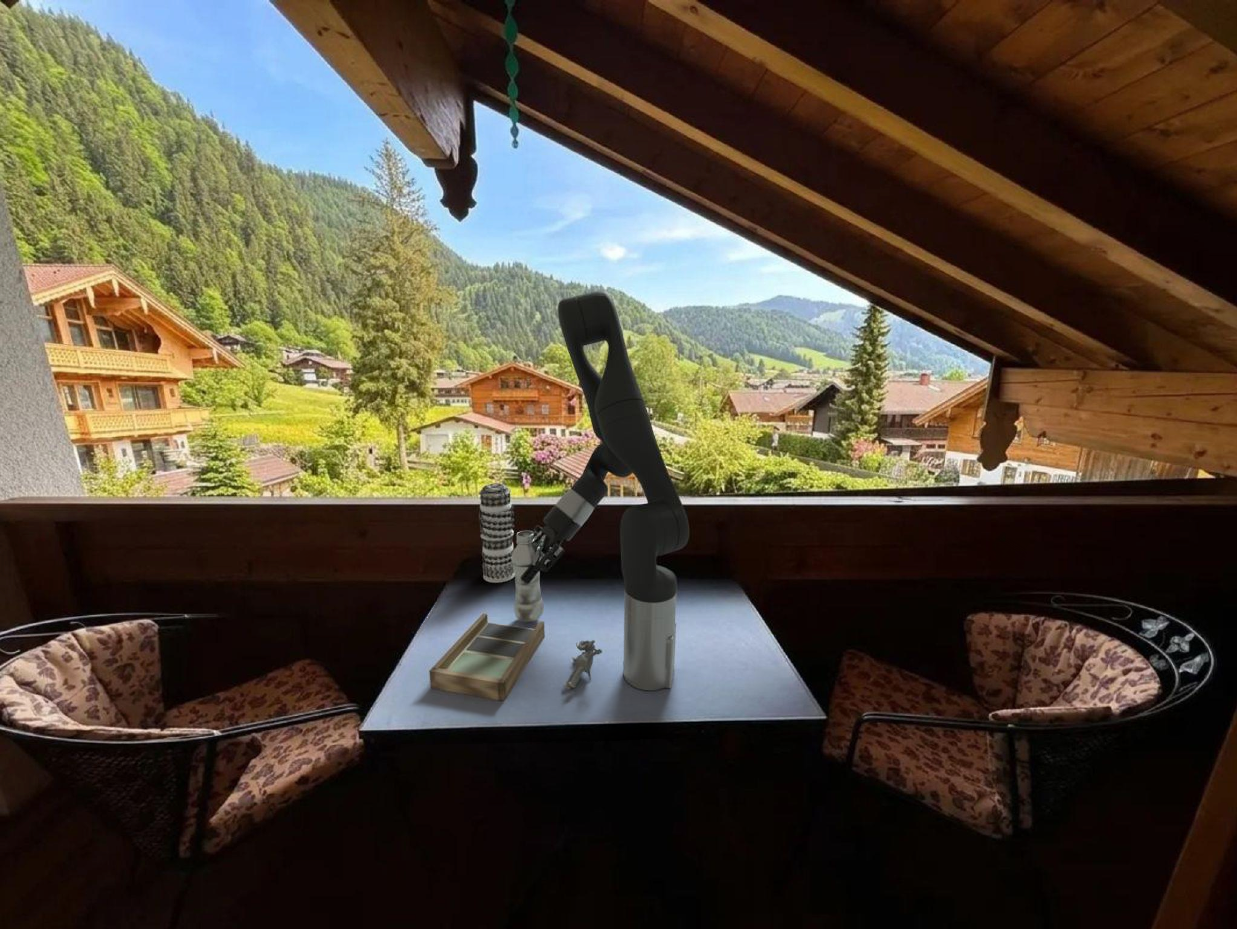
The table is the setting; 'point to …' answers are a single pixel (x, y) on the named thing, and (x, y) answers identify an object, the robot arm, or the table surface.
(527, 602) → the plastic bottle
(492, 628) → the box
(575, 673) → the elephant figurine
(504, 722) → the table surface
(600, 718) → the table surface
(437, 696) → the table surface
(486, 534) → the decorative candle
